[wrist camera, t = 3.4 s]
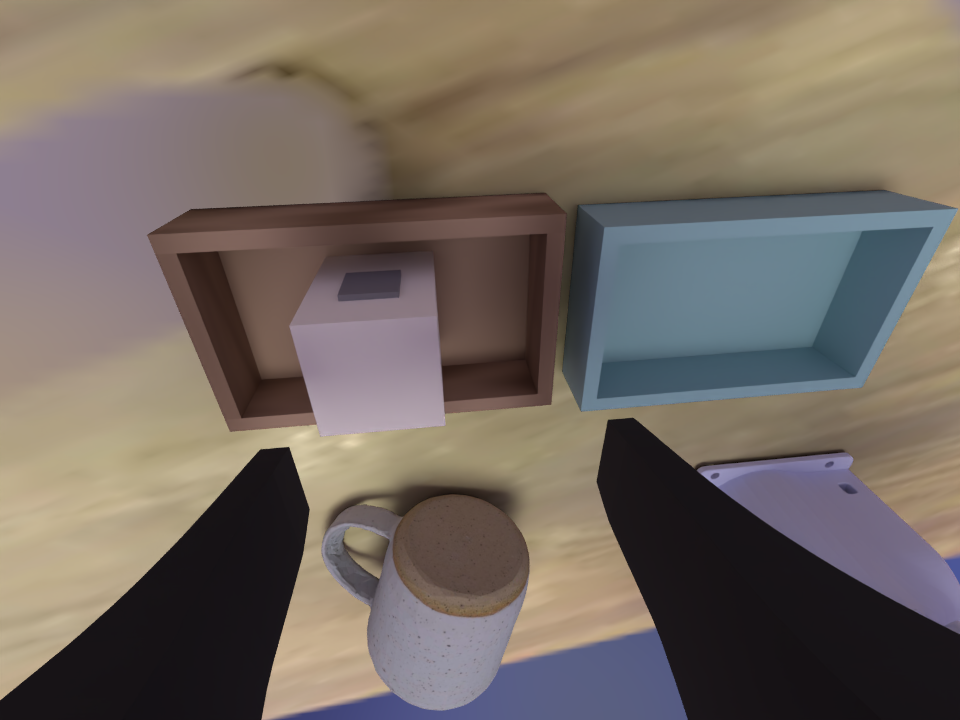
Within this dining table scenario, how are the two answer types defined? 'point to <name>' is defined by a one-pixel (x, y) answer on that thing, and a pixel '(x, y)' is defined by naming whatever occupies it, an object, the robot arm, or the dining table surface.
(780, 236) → the teal tray
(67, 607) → the dining table surface
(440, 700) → the ceramic mug
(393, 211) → the walnut tray
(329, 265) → the letter block
